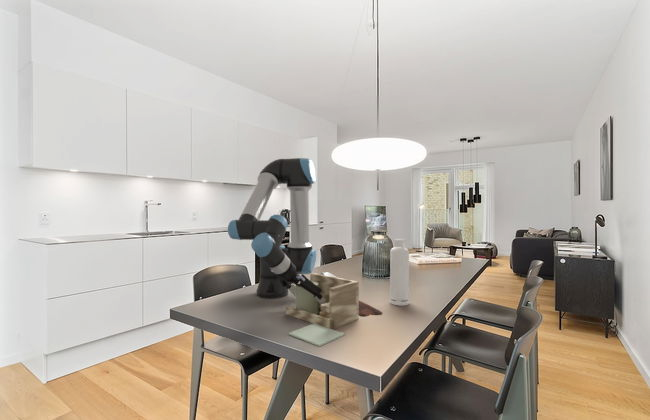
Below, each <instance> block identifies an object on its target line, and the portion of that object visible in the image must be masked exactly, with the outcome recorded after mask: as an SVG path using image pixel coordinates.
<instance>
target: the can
mask: <svg viewBox="0 0 650 420" xmlns="http://www.w3.org/2000/svg"><path fill="white" fill-rule="evenodd" d="M311 282H312V283H314V284H315V285H316V286H318V282H315V281H311ZM298 284H300V281H299V283H298ZM295 287H296V297H295V308H296V309H299V310H303V311H306V312H309V313H313V314H316V315H318V314H319V309H318V301H317V300H316V299H315V298H314V297H313V294H311V293H310V292H308V291H307V290H305V289H304V288H302V287H301V286H300V287H298V286H297V285H295Z"/></svg>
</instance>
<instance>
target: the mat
mask: <svg viewBox="0 0 650 420" xmlns="http://www.w3.org/2000/svg"><path fill="white" fill-rule="evenodd" d="M288 335H289V336H291V337H293V338H294V337H295V338H297V339H299V340H302V341H305V342H306V343H309V344H312V345H315V346H317V347H322V346H324V345H327V344H328V343H332V342H333V341H336V340H337V339H339V338H342V337H344V336H345V333H344V332H341V331H338V330H335V329H333V330H332V329H329V328H326V327H323V326H320V325H317V324H314V323H311V324H309V325H306V326H303V327H300V328H299V329H296V330H295V329H294V330H293V331H290V332H288Z"/></svg>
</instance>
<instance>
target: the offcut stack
mask: <svg viewBox="0 0 650 420" xmlns="http://www.w3.org/2000/svg"><path fill="white" fill-rule="evenodd" d="M329 303H330V302H329ZM329 303H325V304H322V305H321V309H320V311H319V316H322V317H326V318H329Z"/></svg>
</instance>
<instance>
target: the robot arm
mask: <svg viewBox="0 0 650 420" xmlns="http://www.w3.org/2000/svg"><path fill="white" fill-rule="evenodd" d="M316 180H317V179H316V169H315V165H314V162H313V161H312V160H311V159H310V158H306V157H304V158H303V157H299V158H298V157H295V158H279V159H275V160H273V161H271V162H270V163H268V164H267V165H266V166H264V168H263V169H261V171H260V172H259V175H258V176H257V183H256V186H255V187H254V189H253V191H252V192H251V195H250V197H249V199H248V201H247V203H246V205H245V207H244V209H243V210H242V213H241V215H240V216H239V218H238V219H232V220H231V221H229V223H228V224H227V235H228V236H229V238H230V239H232V240H240V241H242V240H244V241H246V240H247V241H250V240H252V241H251V244H250V245H251V249H252V250H253V252H254V253H255V254H256V255H257V257H259V272H260V273H259V282H258V285H257V289H256V292H255V293H256V296H257V297H258V298H262V299H279V298H284V297H288V295H289V291H290V292H291V294H292V295H293V296H294V297H295V298H296V285H297V286H298V287H300V286H301V287H302V288H304V289H305V290H307V291H308V292H310V293H311V294H313V297H314V298H315V299H316V300H317V301H318V302H319V303H320V305H322V304H323V303H324V302H325V300H326V299H325V298H324V297H323V296H322V295H321V293H320V292H321V291H322V290H321V289H320V288H319V287H318V286H316V285H315V284H314V283H312V282H311V281H310V279H309V278H308V277H306V276H305V275H310V273H313V271H314V269H315V267H316V262H317V250H316V249H314V248H313V244H312V243H311V242H310V217H309V216H310V212H309V211H310V205H309V198H310V197H309V196H310V195H309V193H310V190H311V189H312V187H313V186H312V185H313V184H315V183H316ZM281 184H283V185H284V184H285V185H286V188H287V189H288V190H289V194H290V197H289V198H290V199H289V200H290V201H289V202H290V205H289V208H290V211H289V212H290V243H288V244H287V248H286V246H285V245H282V242H283V240H284V237H285V234H286V232H287V228H288V220H287V219H286V217H284V216H283V215H281V214H273V215H271V216H270V217H269V218H268V219H267V220H264V219H263V220H261V218H262V215H263V214H264V211H265V209H266V207H267V205H268V203H269V200H270V198H271V196H272V194H273V192H274V190H275V189H277V188H278V185H281ZM299 282H300V284H298V283H299Z"/></svg>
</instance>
